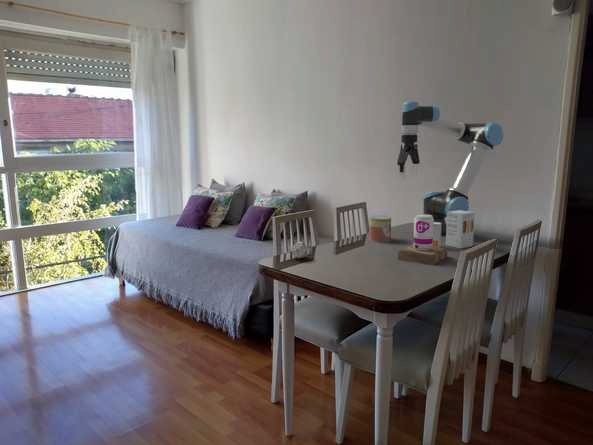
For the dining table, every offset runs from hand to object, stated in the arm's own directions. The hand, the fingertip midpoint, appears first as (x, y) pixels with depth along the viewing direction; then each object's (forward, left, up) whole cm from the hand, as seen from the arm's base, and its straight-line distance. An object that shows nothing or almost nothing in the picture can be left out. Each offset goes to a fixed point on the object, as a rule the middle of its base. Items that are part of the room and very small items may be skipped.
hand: (408, 178), depth 224 cm
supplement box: (-8, +24, -33) cm, 42 cm away
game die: (+56, -25, -33) cm, 70 cm away
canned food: (+2, -14, -33) cm, 36 cm away
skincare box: (+2, +15, -33) cm, 36 cm away
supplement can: (+24, +19, -29) cm, 42 cm away
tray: (+24, +19, -33) cm, 45 cm away
